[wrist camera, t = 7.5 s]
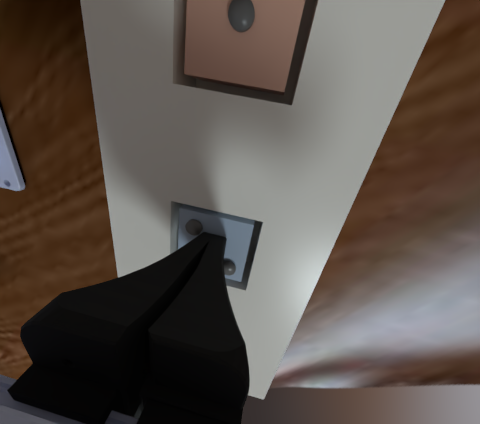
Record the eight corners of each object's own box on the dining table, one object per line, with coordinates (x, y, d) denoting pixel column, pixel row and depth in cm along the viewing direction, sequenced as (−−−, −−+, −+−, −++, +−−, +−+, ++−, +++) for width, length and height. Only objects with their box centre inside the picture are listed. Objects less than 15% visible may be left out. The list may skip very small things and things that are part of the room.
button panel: (148, 328, 21) (129, 359, 19) (123, -110, 8) (51, -210, 6) (265, 361, 20) (263, 399, 18) (437, -74, 8) (524, -175, 5)
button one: (203, 81, 10) (182, 73, 8) (212, -33, 9) (187, -84, 6) (283, 95, 10) (284, 91, 8) (309, -19, 8) (320, -68, 6)
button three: (191, 243, 15) (175, 268, 13) (195, 192, 13) (177, 209, 11) (246, 257, 15) (240, 284, 12) (258, 206, 13) (253, 227, 11)
